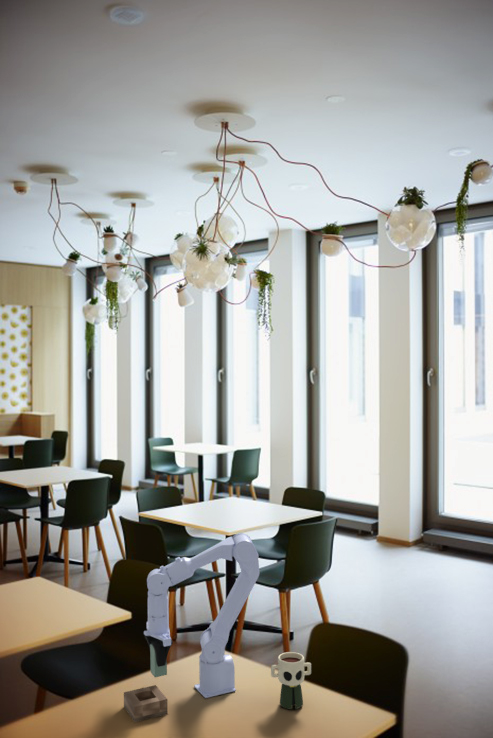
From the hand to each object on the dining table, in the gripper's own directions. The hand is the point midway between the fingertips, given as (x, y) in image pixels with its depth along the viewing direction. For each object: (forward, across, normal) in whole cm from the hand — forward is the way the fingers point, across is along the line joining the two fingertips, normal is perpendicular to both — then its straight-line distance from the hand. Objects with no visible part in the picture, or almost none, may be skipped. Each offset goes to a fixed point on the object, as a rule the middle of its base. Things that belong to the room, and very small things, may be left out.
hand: (158, 662), depth 201 cm
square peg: (+3, 0, 0) cm, 3 cm away
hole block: (+9, +8, -7) cm, 13 cm away
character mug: (+9, +23, +29) cm, 38 cm away
